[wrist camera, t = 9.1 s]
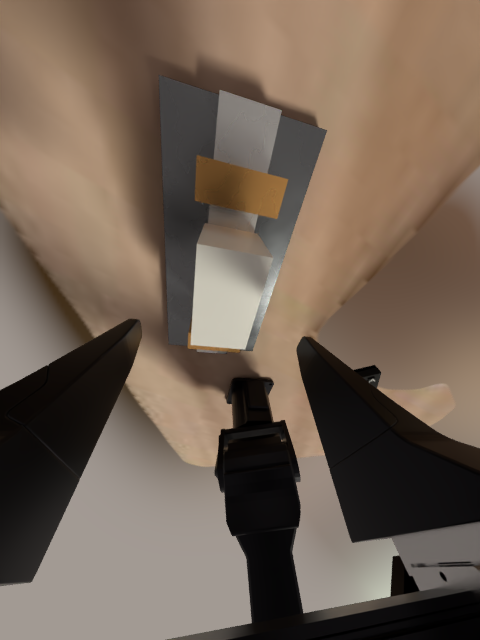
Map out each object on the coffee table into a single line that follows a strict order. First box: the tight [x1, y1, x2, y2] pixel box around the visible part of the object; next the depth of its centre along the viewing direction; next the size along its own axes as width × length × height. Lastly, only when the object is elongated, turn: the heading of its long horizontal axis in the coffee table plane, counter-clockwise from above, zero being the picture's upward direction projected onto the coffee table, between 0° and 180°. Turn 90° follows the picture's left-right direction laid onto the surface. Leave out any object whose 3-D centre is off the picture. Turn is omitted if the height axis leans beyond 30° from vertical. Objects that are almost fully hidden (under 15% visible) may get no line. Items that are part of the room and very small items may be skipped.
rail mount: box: [159, 75, 327, 354], centre depth 16 cm, size 20×10×4 cm, turn 169°
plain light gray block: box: [191, 223, 273, 350], centre depth 14 cm, size 7×4×6 cm, turn 169°
